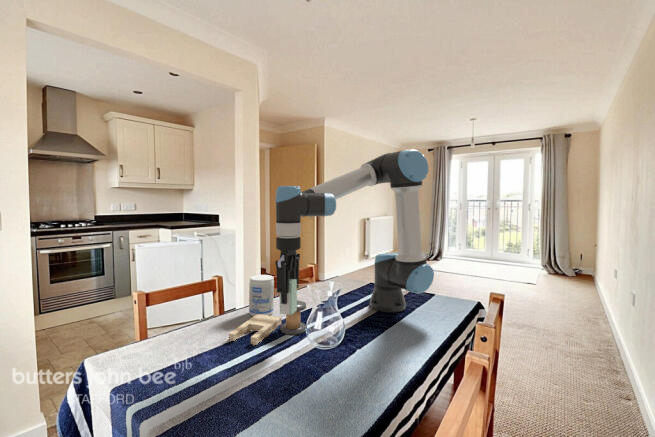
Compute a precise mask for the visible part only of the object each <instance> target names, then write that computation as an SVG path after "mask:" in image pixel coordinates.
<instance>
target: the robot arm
mask: <svg viewBox="0 0 655 437" xmlns="http://www.w3.org/2000/svg"><path fill="white" fill-rule="evenodd" d="M428 174H429V164H428V160H427V157H426V156H425V155H424V154H423V153H422V152H421V151H419V150H417V149H404V150H400V151H394V152H387V153H384V154H381V155H380V156H377V157H375V158H374V159H371V160H369V161H367V162H365V163H362V164H361V166H360V167H359V168H356V169H354V170H352V171H349V172H347V173H345V174H342V175H339V176H337V177H335V178H332V179H330V180H328V181H324V182H323V183H320V184H318V185H315V186H312V187H311V188H308V189H305V190H303V191H301V190H302V188H301V186H299V185H295V186H294V185H280V186H279V185H278V186H277V188H276V191H275V224H276V225H275V226H274V227H275V236H277V237H276V238H275V248H276V250H278V251H280V253H279V254H280V255H279V260H275V262H274V263H275V268H276V273H275V274H276V293H279V294H280V293H281V313H282V314H283V315H286V314H290V293H289V292H288V291H289V279H297V289H299V287H300V285H299V283H300V258H301V254H300V253H297V250H300V249H301V248H302V247H301V245H302V244H301V240H302V239H301V237H300V236H301V235H302V234H301V233H302V231H301V230H302V225H301V224H302V223H301V222H302V221H301V219H302V218H303V217H304V218H305V217H323V218H324V217H330V216H333V215H334V214H335V212H336V210H337V200H338V199H340V198H342V197H343V198H344V197H345V196H348V195H349V194H352V193H354V192H356V191H358V190H360V189H363V188H365V187H367V186H368V187H374V186H376V185H379V184H386V183H387V184H390V185H389V186H390V189H391V190H392V191H393V192H394V197H395V200H394V201H395V211H396V214H395V215H396V225H397V226H396V227H397V228H396V230H397V244H398V245H397V246H398V252H393V253H392V252H390V253H387V252H385V253H377V254H376V255H375V258H374V259H375V260H374V288H373V291H372V294H371V296H370V299H369V307H370V308H372V309H373V310H375V311H378V312H383V313H400V312H403V311H405V310H406V307H407V306H406V305H407V304H406V298H405V296H404V293H403V290H406V291H407V292H409V293H413V294H414V293H415V294H416V295H417V294H423V293H425V292H426V291H428V290H429V289H430V287H431V286H432V284H433V281H434V278H435V273H434V272H435V271H434V269H433V267H431V265H430V264H428V263H427V256H426V255H425V254H424V253H423V252H422V251H423V250H422V231H421V229H422V228H421V215H420V214H421V212H420V196H419V190H420V189H421V188H422V187H423V181H424V180H425V179H426V178H427V175H428ZM282 314H281V315H282Z"/></svg>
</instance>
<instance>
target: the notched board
mask: <svg viewBox="0 0 655 437" xmlns="http://www.w3.org/2000/svg"><path fill="white" fill-rule="evenodd" d="M279 325H280V326H281V325H282V317H281V316H275V315H269V316H268V315H261V314H256V315H255V316H252V317H251V318H249V319H248V320H246V321H245V322H243V323H242V324H241V325H239V326H237V327H236V328H235V329H233V330H232V331H231V332H229V333H228V341H229V340H232V341H235V340H236V339H237V338H239V337H240V336H242V335H243V334H244V333H246V332H247V331H248V332H250V331H249V330H252V331H251V332H254V331H258V332H255V333H254V334H252V335H251V337H250V345H251V344H253V345H252V346H255V345H257V344H258V343H259V342H260V343H261V342H263V341H264V340H265V339H266V338H267V337H268V336H270V333H271V332H272V331H273V332H274V331H275V330H276V329H278V326H279ZM280 326H279V327H280ZM248 332H247V333H248ZM273 332H272V333H273ZM247 333H246V334H247ZM272 333H271V334H272ZM244 335H245V334H244ZM244 335H243V336H244ZM243 336H242V337H243ZM265 337H266V338H265ZM240 338H241V337H240ZM240 338H239V339H240ZM264 338H265V339H264ZM263 339H264V340H263ZM262 340H263V341H262ZM236 341H237V340H236ZM236 341H235V342H236ZM260 343H259V344H260ZM259 344H258V345H259ZM258 345H257V346H258Z"/></svg>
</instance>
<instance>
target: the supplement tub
mask: <svg viewBox="0 0 655 437" xmlns="http://www.w3.org/2000/svg"><path fill="white" fill-rule="evenodd" d="M274 279H275V278H274V275H273V276H272V275H269V274H257V275H252V276H250V277H249V284H248V285H249V290H248V292H249V293H248V294H249V296H248V297H249V298H248V302H249V303H248V305H249V306H248V313H249V315H250V316H252V317H254V316H255V315H256V314H261V315H268V316H272V314H273V313H274V300H275V295H274V294H275V293H274V292H275V280H274Z"/></svg>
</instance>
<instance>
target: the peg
mask: <svg viewBox="0 0 655 437" xmlns="http://www.w3.org/2000/svg"><path fill="white" fill-rule="evenodd" d="M297 285H298V284H297V279H289V291H288V292H289V293H290V314H288V315H292V314H293V313H294V312H296V311H297V300H298V297H297V296H298V294H297V291H298V288H297ZM279 314H281V315H282V313H281V293H279Z"/></svg>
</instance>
